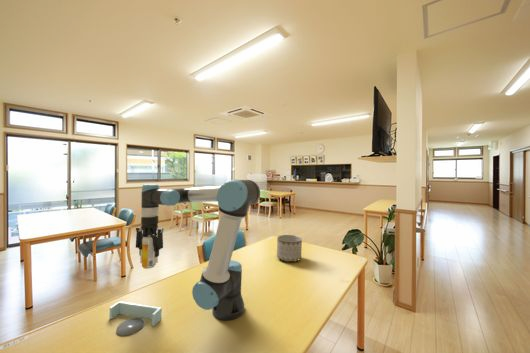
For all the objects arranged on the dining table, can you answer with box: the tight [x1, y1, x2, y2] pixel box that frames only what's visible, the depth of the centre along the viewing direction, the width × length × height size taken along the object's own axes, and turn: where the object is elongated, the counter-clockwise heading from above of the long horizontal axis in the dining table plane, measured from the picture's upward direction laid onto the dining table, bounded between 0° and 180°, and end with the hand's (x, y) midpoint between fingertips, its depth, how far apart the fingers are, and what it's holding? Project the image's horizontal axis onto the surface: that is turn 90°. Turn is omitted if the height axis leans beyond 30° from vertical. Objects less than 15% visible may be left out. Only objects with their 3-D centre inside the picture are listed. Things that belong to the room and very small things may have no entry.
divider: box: [108, 300, 163, 327], centre depth 96 cm, size 22×5×5 cm, turn 80°
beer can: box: [141, 235, 157, 270], centre depth 106 cm, size 6×6×15 cm
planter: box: [276, 234, 303, 262], centre depth 172 cm, size 19×19×16 cm
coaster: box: [115, 317, 145, 337], centre depth 91 cm, size 10×10×1 cm
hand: (149, 262), depth 106 cm, fingers closed on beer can, 6 cm apart
